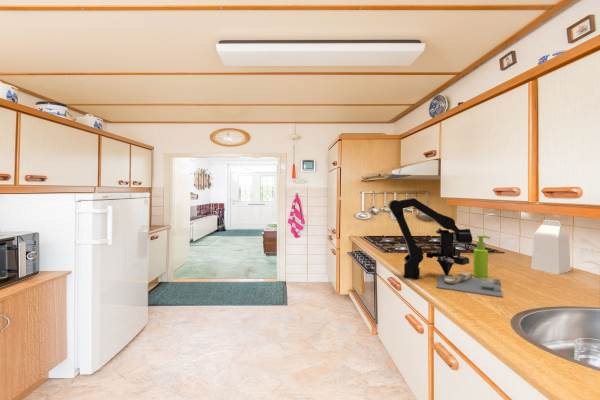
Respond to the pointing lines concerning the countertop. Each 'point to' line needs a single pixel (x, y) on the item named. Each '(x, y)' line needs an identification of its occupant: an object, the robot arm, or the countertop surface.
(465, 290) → the board
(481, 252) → the soap dispenser
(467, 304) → the countertop surface
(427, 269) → the countertop surface
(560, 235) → the milk
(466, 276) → the link
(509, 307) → the countertop surface
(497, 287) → the block
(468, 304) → the countertop surface
